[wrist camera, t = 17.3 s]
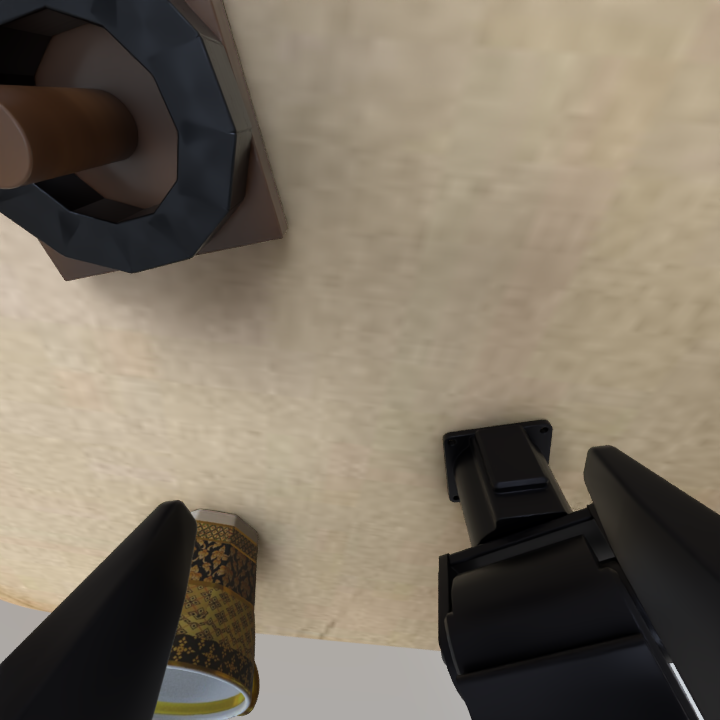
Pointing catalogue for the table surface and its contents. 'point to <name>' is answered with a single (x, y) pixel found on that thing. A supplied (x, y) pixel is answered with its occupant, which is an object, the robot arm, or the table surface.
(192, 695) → the ceramic cup
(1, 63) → the ring
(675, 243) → the table surface
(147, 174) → the peg stand
